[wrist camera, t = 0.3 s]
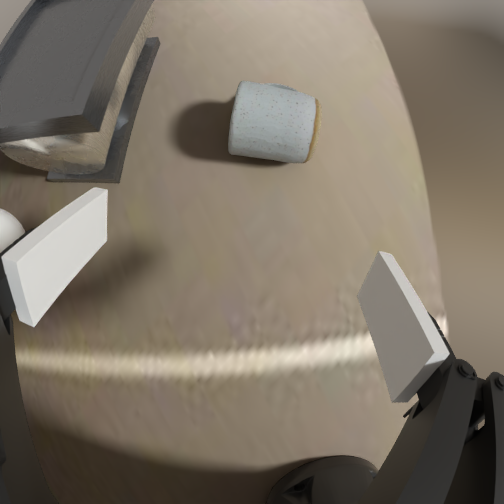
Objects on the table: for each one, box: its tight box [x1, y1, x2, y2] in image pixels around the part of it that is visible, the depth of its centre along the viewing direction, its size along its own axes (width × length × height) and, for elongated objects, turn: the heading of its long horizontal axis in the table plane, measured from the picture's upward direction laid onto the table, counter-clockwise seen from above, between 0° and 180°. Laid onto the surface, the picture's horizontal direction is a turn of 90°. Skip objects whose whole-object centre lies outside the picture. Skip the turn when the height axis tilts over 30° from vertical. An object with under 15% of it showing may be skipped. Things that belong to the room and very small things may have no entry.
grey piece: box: [0, 0, 160, 183], centre depth 24 cm, size 21×17×15 cm
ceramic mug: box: [228, 81, 322, 163], centre depth 27 cm, size 11×8×8 cm
